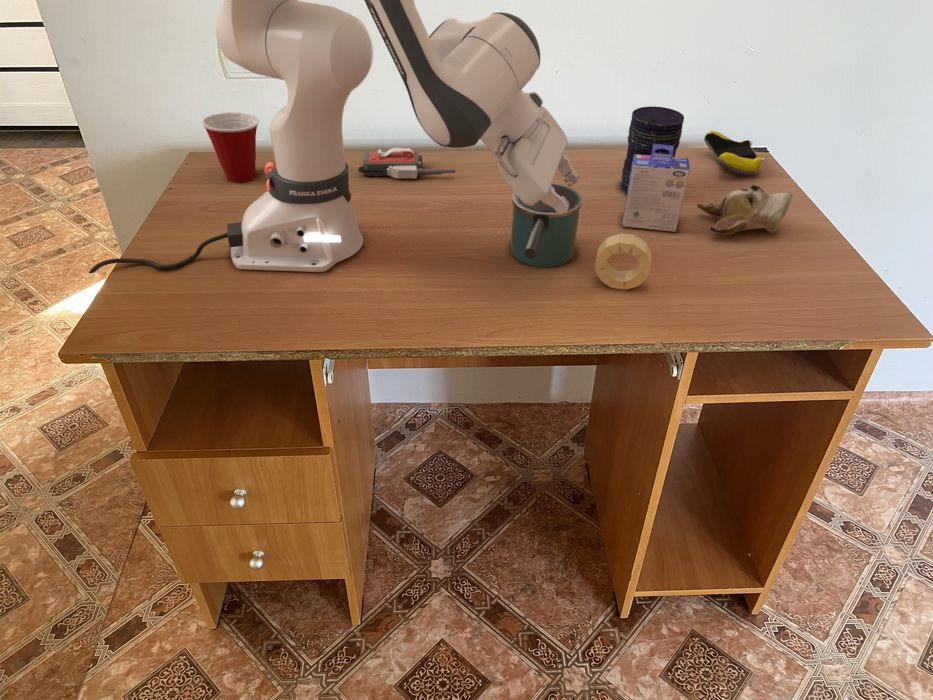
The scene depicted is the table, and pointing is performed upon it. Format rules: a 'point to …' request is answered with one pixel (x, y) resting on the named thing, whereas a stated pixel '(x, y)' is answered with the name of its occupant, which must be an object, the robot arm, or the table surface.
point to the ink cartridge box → (656, 190)
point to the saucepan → (545, 230)
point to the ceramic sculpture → (748, 210)
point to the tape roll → (620, 277)
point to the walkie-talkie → (396, 164)
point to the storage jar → (651, 135)
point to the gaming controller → (733, 154)
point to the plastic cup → (234, 143)
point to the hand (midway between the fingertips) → (570, 195)
